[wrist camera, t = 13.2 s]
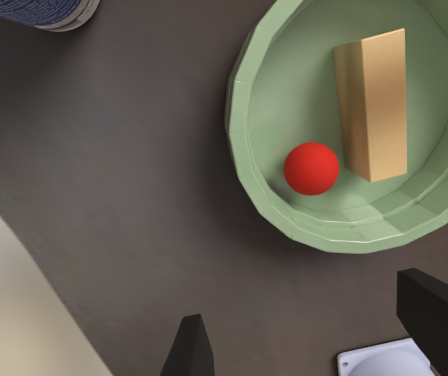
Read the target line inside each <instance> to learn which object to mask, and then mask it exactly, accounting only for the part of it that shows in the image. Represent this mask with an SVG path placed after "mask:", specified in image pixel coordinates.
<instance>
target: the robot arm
mask: <svg viewBox="0 0 448 376" xmlns="http://www.w3.org/2000/svg"><path fill="white" fill-rule="evenodd" d="M397 316H398V318H399V319H400V321H401V323H402V324H403V326H404V327H405V329H406V331H407V332H408V334H409V335H410V337H411V338H407V339H403V340H398V341H394V342H389V343H384V344H380V345H375V346H371V347H366V348H362V349H357V350H352V351H348V352H343V353H340V354H339V355H338V356H337V362H338V372H339V376H435V375H434V374H433V373H432V371H431V370H430V363H431V364H432V365H433V366H434V368H435V369H436V370H437V371H438V373H439V374H440V375H441V376H448V284H446V283H444V282H442V281H440V280H438V279H436V278H434V277H432V276H430V275H428V274H426V273H424V272H422V271H420V270H418V269H416V268H411V269H406V270H402V271H397ZM160 376H215V373H214V361H213V352H212V349H211V346H210V343H209V339H208V336H207V333H206V330H205V326H204V323H203V320H202V317H201V313H200V314H195V315H191V316H186V317H184V318H183V319H182V321H181V324H180V327H179V329H178V332H177V335H176V338H175V340H174V343H173V345H172V348H171V350H170V353H169V355H168V357H167V360H166V362H165V364H164V367H163V369H162V371H161V374H160Z"/></svg>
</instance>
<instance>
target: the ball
mask: <svg viewBox="0 0 448 376" xmlns="http://www.w3.org/2000/svg"><path fill="white" fill-rule="evenodd" d="M338 174H339V163H338V160H337V157H336V155H335V154H334V153H333V151H332V150H331V149H330V148H328V147H327V146H325V145H323V144H320V143H315V142H309V143H304V144H301V145H299V146H297V147H295V148H294V149H293V150H292V151H291V152H290V153H289V154H288V156H287V157H286V160H285V163H284V176H285V179H286V181H287V183H288V185H289V186H290V187H291V188H292V189H293V190H294V191H296V192H298V193H300V194H303V195H308V196H314V195H319V194H322V193H324V192H326V191H327V190H329V189H330V188H331V187H332V186H333V185H334V183H335V182H336V180H337V177H338Z"/></svg>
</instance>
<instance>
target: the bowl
mask: <svg viewBox="0 0 448 376" xmlns="http://www.w3.org/2000/svg"><path fill="white" fill-rule="evenodd" d="M402 28H404V29H405V76H406V139H407V174H404V175H400V176H397V177H393V178H389V179H385V180H381V181H377V182H374V183H370V182H368V181H366V180H365V179H363V178H361V177H360V176H358V175H357V174H355V173H353V172H352V171H350V170H349V169H347V168H345V164H344V154H343V144H342V134H341V124H340V114H339V105H338V95H337V85H336V75H335V65H334V55H333V47H334V46H337V45H341V44H344V43H348V42H352V41H355V40H359V39H363V38H366V37H370V36H374V35H378V34H382V33H386V32H390V31H394V30H398V29H402ZM224 126H225V131H226V136H227V140H228V145H229V150H230V154H231V159H232V162H233V165H234V168H235V170H236V173H237V176H238V179H239V181H240V182H241V184H242V186H243V187H244V189H245V191H246V192H247V194H248V196H249V197H250V199H251V201H252V202H253V204H254V206H255V207H256V209H257V211H258V212H259V214H261V216H263V217H264V218H265V219H266V220H268V221H269V222H270V223H271V224H272V225H274V226H275V227H276V228H277V229H279V230H280V231H281V232H282V233H283V234H285V235H286V236H287V237H288V238H291V239H292V240H295V241H298V242H300V243H303V244H306V245H309V246H311V247H314V248H317V249H319V250H322V251H326V252H335V253H356V254H367V253H371V252H376V251H380V250H385V249H389V248H394V247H398V246H403V245H404V244H408V243H410V242H412V241H414V240H416V239H418V238H420V237H422V236H424V235H426V234H428V233H430V232H432V231H434V230H436V229H438V228H440V227H442V226H443V225H445V224H446V223H448V0H275V1H274V2H273V4H272V5H271V6H270V7H269V8H268V10H267V11H266V12H265V13H264V15H263V16H262V17H261V18H260V19H259V21H258V22H257V23H256V24H255V25H254V27H253V28H252V29H251V30H250V32H249V33H248V34H247V36H246V37H245V40H244V42H243V45H242V47H241V49H240V52H239V54H238V57H237V59H236V61H235V64H234V66H233V69H232V71H231V73H230V76H229V80H228V84H227V94H226V105H225V115H224ZM309 142H315V143H320V144H323V145H325V146H327V147H328V148H330V149H331V150H332V151H333V153H334V154H335V155H336V157H337V160H338V163H339V174H338V177H337V180H336V182H335V183H334V185H333V186H332V187H331V188H330V189H329V190H327V191H326V192H324V193H322V194H319V195H314V196H308V195H303V194H300V193H298V192H296V191H294V190H293V189H292V188H291V187H290V186H289V185H288V183H287V181H286V179H285V176H284V163H285V160H286V157H287V156H288V154H289V153H290V152H291V151H292V150H293V149H294V148H295V147H297V146H299V145H301V144H304V143H309Z"/></svg>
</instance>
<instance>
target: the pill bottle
mask: <svg viewBox="0 0 448 376" xmlns="http://www.w3.org/2000/svg"><path fill="white" fill-rule="evenodd" d="M99 1H100V0H0V17H2V18H5V19H8V20H11V21H14V22H18V23H21V24H24V25H28V26H31V27H35V28H38V29H42V30H47V31H55V32H61V31H68V30H72V29H75V28H77V27H79V26H81V25H82V24H84V23H85V22H86V21H87V20H88V19H89V18H90V17H91V16H92V14H93V13H94V12H95V10H96V8H97V6H98V4H99Z"/></svg>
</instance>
